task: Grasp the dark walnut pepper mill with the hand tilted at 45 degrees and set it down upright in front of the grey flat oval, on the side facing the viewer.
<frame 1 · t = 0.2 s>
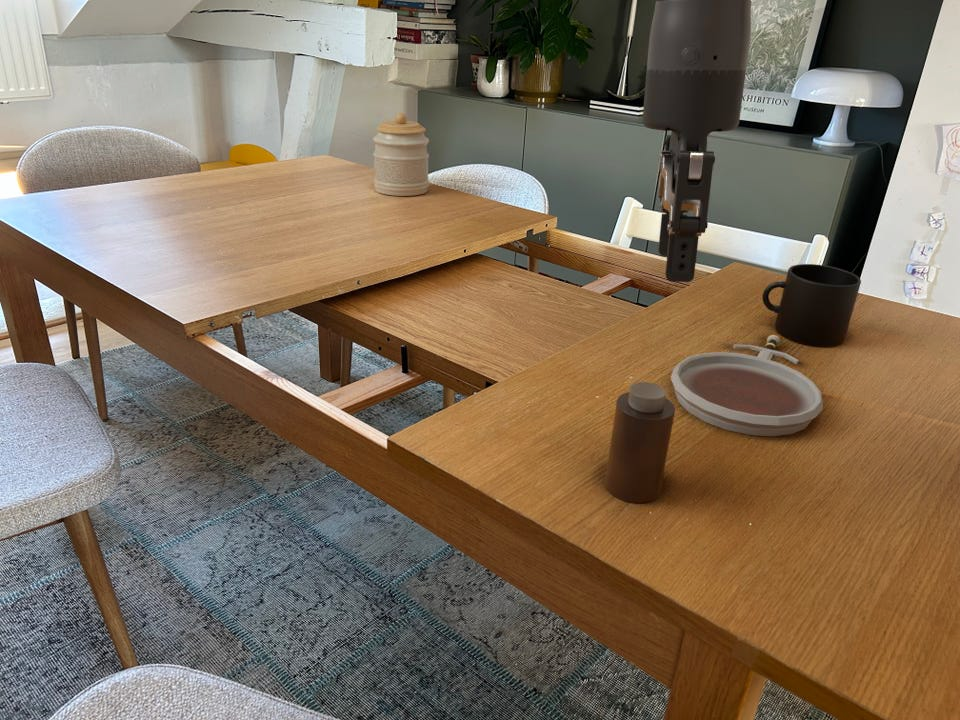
hand: (674, 267, 63), 21 cm above the table, tool pointing down, fingers open, 8 cm apart
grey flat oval: (751, 385, 91), on the table
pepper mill: (632, 486, 70), on the table
jar: (401, 191, 174), on the table
mug: (798, 333, 106), on the table
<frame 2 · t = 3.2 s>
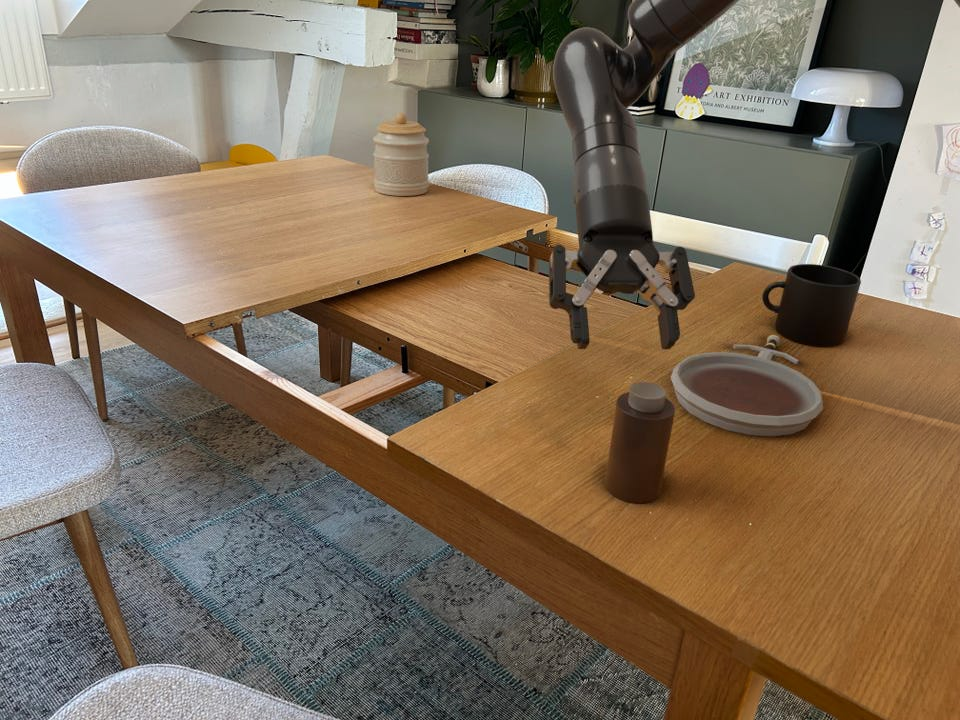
hand: (626, 346, 72), 11 cm above the table, tool tilted 45°, fingers open, 8 cm apart
nothing on the table moved.
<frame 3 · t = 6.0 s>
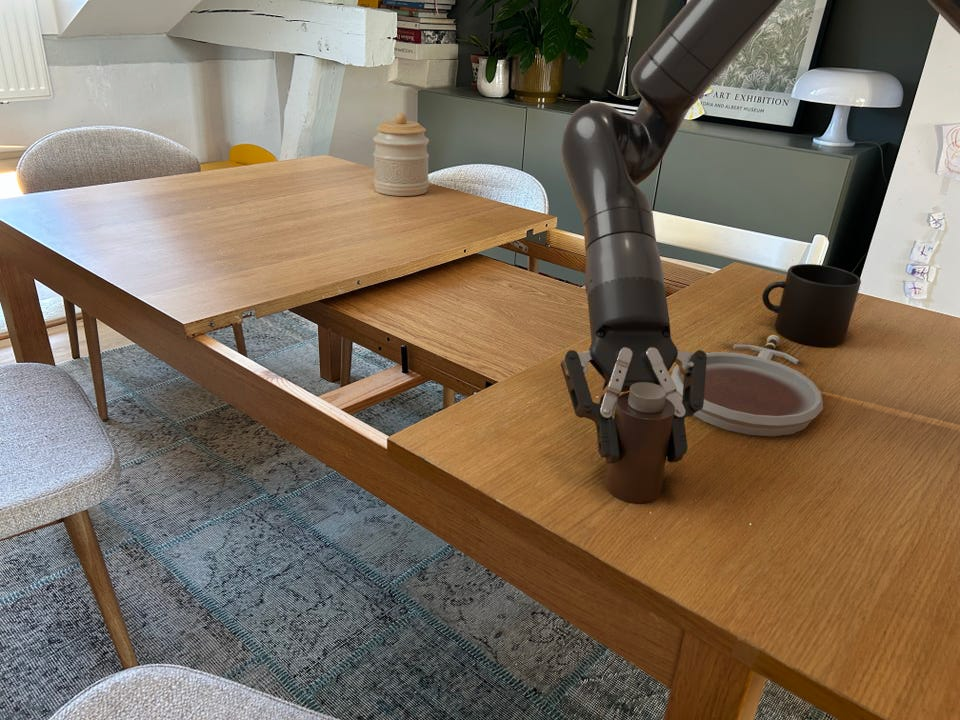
hand: (644, 460, 66), 4 cm above the table, tool tilted 45°, fingers closed on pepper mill, 5 cm apart
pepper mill: (632, 486, 70), on the table, touching gripper
everything else where it was.
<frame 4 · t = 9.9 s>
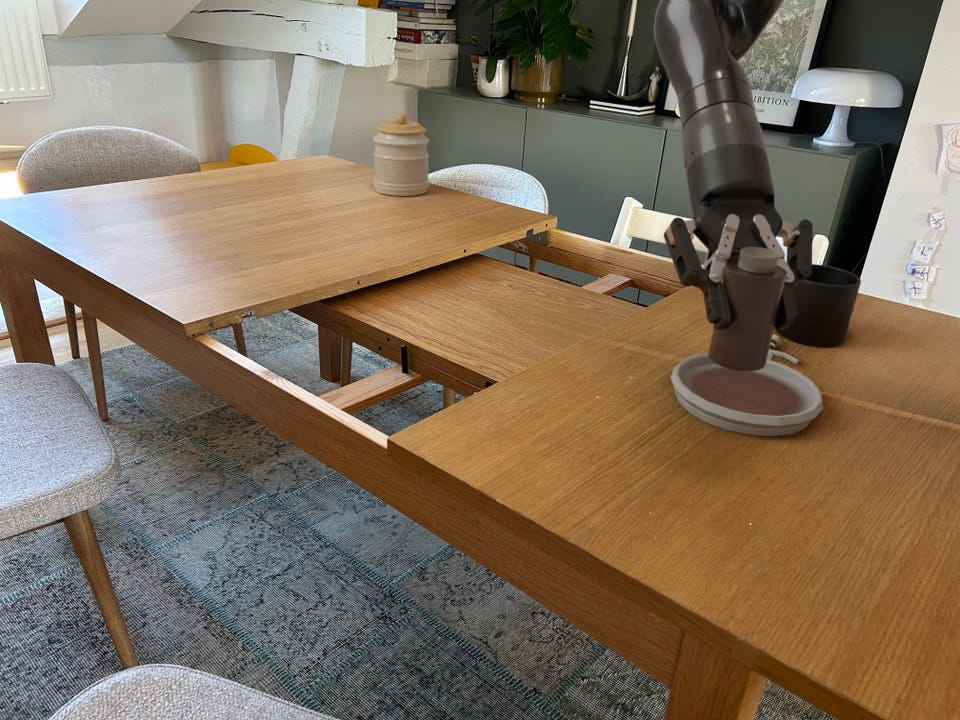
hand: (754, 325, 66), 16 cm above the table, tool tilted 45°, fingers closed on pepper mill, 5 cm apart
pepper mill: (736, 359, 69), point 12 cm above the table, touching gripper
everything else where it was.
when the fingers open (4 cm above the table, at t = 14.1 s): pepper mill stays where it is, on the table.
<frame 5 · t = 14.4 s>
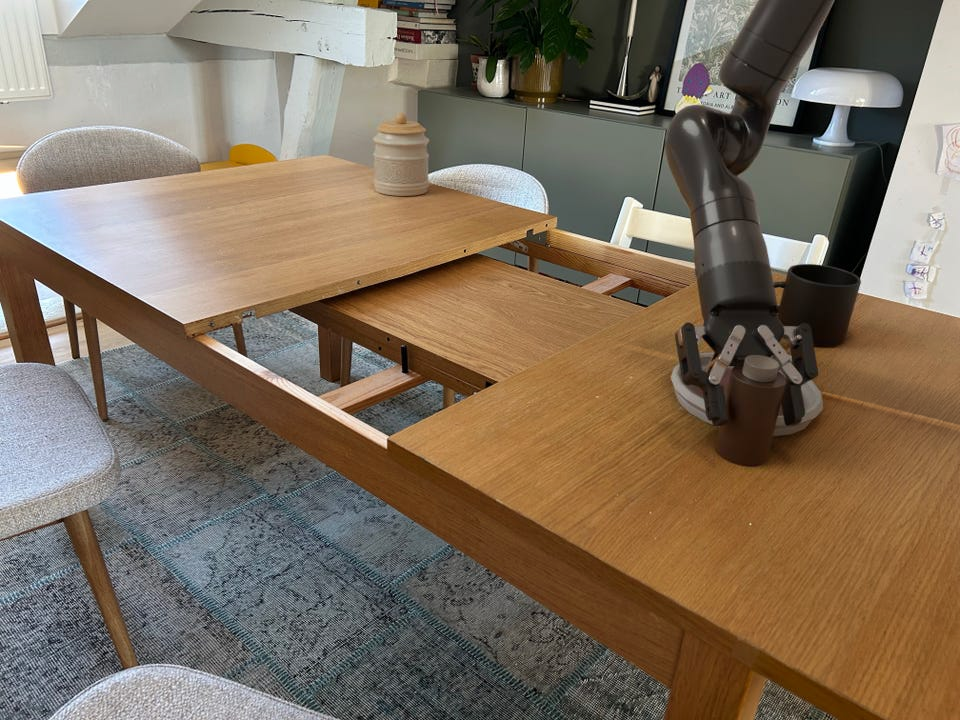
hand: (757, 424, 73), 4 cm above the table, tool tilted 45°, fingers open, 7 cm apart
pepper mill: (740, 452, 76), on the table
everything else where it was.
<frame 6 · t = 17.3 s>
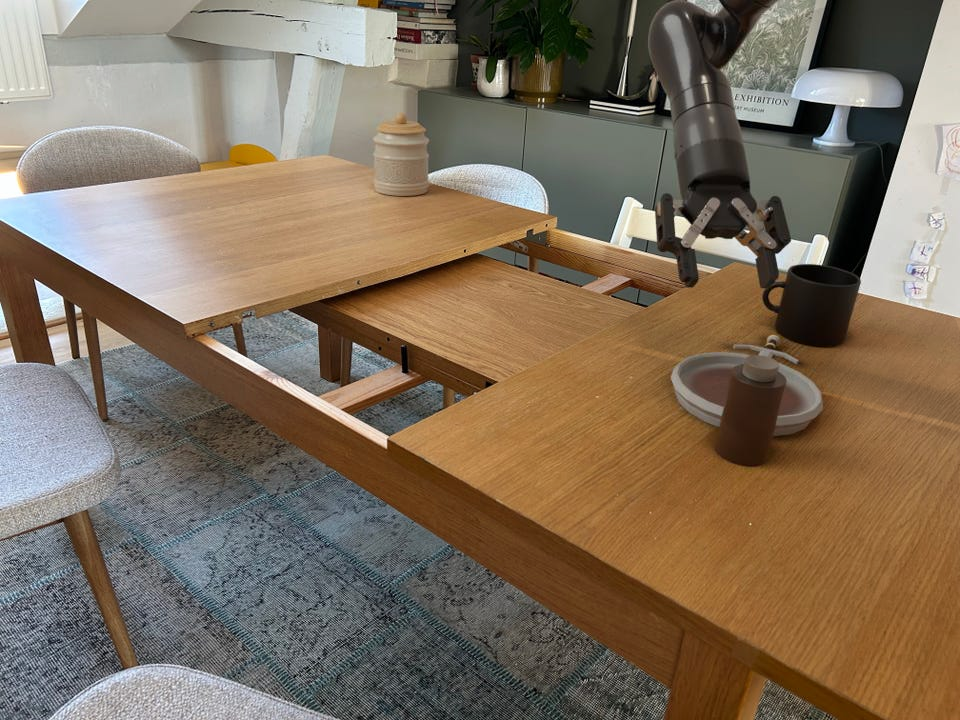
hand: (730, 285, 79), 15 cm above the table, tool tilted 45°, fingers open, 8 cm apart
nothing on the table moved.
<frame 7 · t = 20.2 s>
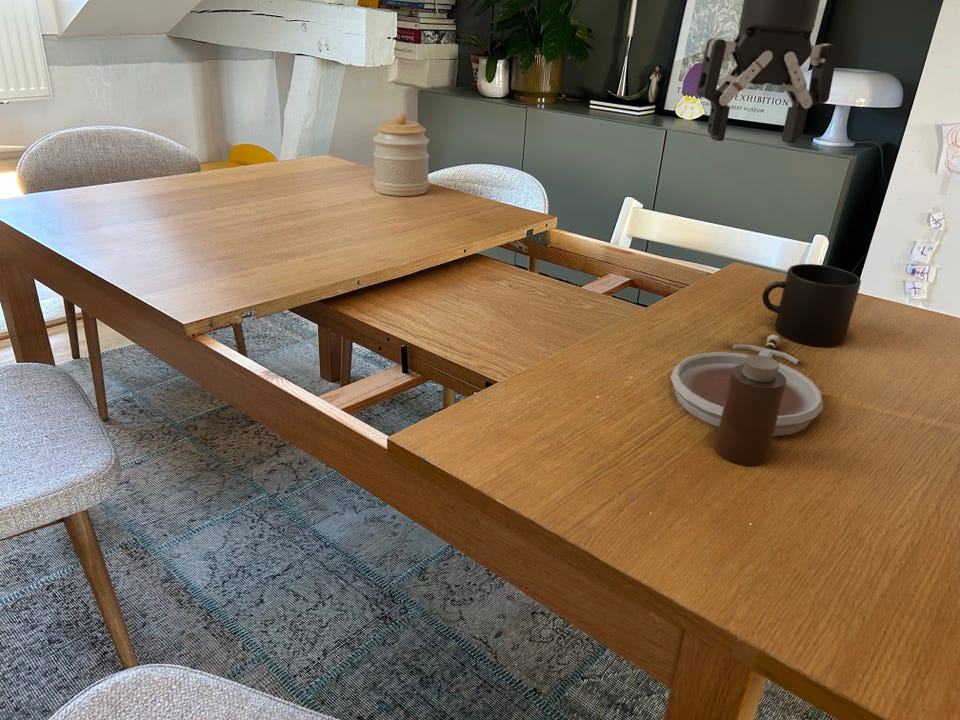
hand: (753, 141, 83), 28 cm above the table, tool pointing down, fingers open, 8 cm apart
nothing on the table moved.
at the end: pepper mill inside the target area on the table beside the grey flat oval (0.8 cm from its centre), on the table; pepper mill tilted 0°; the gripper is holding nothing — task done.
